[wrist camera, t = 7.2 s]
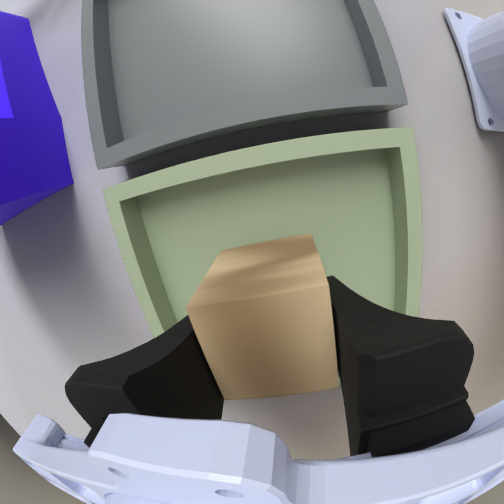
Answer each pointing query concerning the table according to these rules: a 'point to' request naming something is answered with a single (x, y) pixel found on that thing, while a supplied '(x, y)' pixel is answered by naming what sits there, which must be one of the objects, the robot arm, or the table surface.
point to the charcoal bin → (227, 69)
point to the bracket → (27, 124)
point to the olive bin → (277, 216)
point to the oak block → (267, 320)
